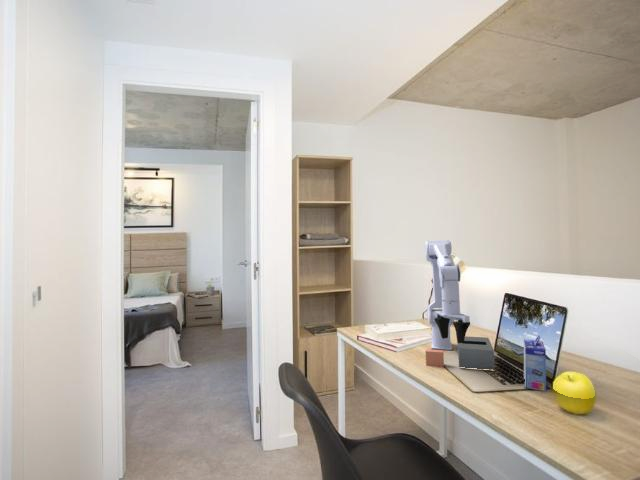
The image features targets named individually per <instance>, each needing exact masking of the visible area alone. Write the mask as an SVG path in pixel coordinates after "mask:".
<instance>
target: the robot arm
mask: <svg viewBox="0 0 640 480" xmlns="http://www.w3.org/2000/svg"><path fill="white" fill-rule="evenodd" d="M424 243H425V244H424V252H425V259H426V261H427V262H429V263H430V265H431V268H432V269H431V271H432V287H433V302H431V303H430V304H428V306H427V322H428V324H429V325H431V344H430V345H431V347H430V349H431V350H443V351H444V350H445V351H446V350H447V351H452V350H453V346H452V345H453V344H452V342H451V340H452V339H451V327H452V325H453V327H454V329H455V336H456V343H457V342H458V343H464V339H465V336H466V333H467V331H468V329H469V327H470V326H471V319H470V315H466V314H463V313H461V306H460V305H461V304H460V303H461V302H460V282H461V277H462V276H461V274H462V273H461V269H460V266H459V264H455V262H454V259H453V257H452V256H451V255H452V249H453V248H452V243H451V241H450V240H449V239H448V240H426V241H425V242H424Z"/></svg>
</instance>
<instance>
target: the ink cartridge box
mask: <svg viewBox="0 0 640 480" xmlns="http://www.w3.org/2000/svg"><path fill="white" fill-rule="evenodd" d="M546 354H547V353H546V348H545V345H544V341H541V336H540V335H538V336H537V337H536V338H535V339H533V340H532V339H523V380H524V379H525V382H524V386H525V387H524V388H525V389H530V390H536V391H541V392H547V369H546V368H547V361H546V358H547V357H546Z"/></svg>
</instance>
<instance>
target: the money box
mask: <svg viewBox="0 0 640 480" xmlns="http://www.w3.org/2000/svg"><path fill="white" fill-rule="evenodd" d="M456 343H457V344H456V346H457V348H456V350H457V360H459V361H458V368H459V367H465V368H477V369H493V370H496V367H495V350H494V347H493V346H492V343H491V340H490V338H489V337H485V336H483V337H482V336H481V337H480V336H468V335H467V336H466V335H465V339H464V343H458V342H457V341H456Z"/></svg>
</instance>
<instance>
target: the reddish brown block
mask: <svg viewBox="0 0 640 480" xmlns="http://www.w3.org/2000/svg"><path fill="white" fill-rule="evenodd" d="M444 356H445V355H444V349H431V348H430V349H428V348H425V366H431V367H442V368H444V367H445V360H444V359H445V357H444Z"/></svg>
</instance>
